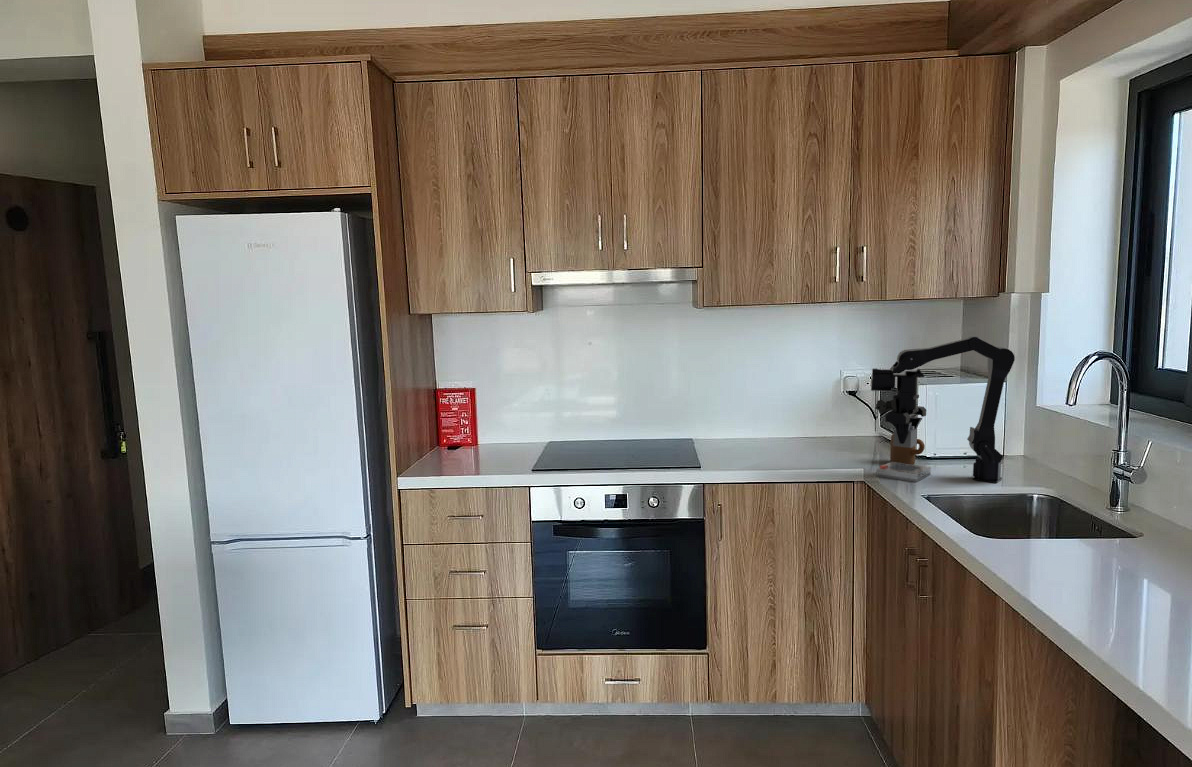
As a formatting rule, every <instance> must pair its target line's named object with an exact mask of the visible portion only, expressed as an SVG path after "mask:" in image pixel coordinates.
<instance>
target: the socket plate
mask: <svg viewBox="0 0 1192 767" xmlns="http://www.w3.org/2000/svg"><path fill="white" fill-rule="evenodd" d="M931 469H932V467H931V466H926V465H919V464H906V463H898V462H888V463H885V464H882V465H881V464H880V466H879V467H876V477H882V478H885V479H887V478H888V479H894V480H901V481H906V482H913V483H918V482H920V481H922V480H923V479H926V478H927V477H929V476H931V472H932V470H931Z"/></svg>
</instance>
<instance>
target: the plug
mask: <svg viewBox="0 0 1192 767" xmlns="http://www.w3.org/2000/svg"><path fill="white" fill-rule="evenodd" d="M892 434H893V446H899V447H907V448H911V447H914V446H917V445H918V444H917V439H918V428H917V429H914V426H911V427H910V429H909V432H908V434H907V437H906V439H905V442H904V444H900V442H899V439H898V435H897V431H896V428H894V429H893V433H892Z"/></svg>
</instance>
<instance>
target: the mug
mask: <svg viewBox="0 0 1192 767" xmlns="http://www.w3.org/2000/svg"><path fill="white" fill-rule="evenodd" d="M890 437H891V438H890V451H889V452H890V455H889V456H890V457H889V459H890V460H889V461H890V462H898V463H906V464H913V465H915V463H916V456H917V455H921V454H922V453H924V450H925V447H926V446H925V443H924V441H923V440H921V439H920V438H917V445H919V446H918V449H917V447H916V446H917V445H916V446H914V447H911V448H907V447H899V446H893V433H892V434H891V436H890Z"/></svg>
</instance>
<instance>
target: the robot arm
mask: <svg viewBox="0 0 1192 767" xmlns="http://www.w3.org/2000/svg"><path fill="white" fill-rule="evenodd" d="M971 351H974V352H976V353H978V354H979V355H982V356H983V357H985V358H987V375H988V379H987V384H986V387H985V392H984V395H983V396H984V397H983V401H982V405H981V409H980V410H981V411H980V414H979V420H978V422H977V424H976V426H975V427H972V426H970V427H969V435H968V437H967V438H966V439H967V441H968V445H969V447H970V448H971V450H972V451H973V452H974V453H975V454H976V456H977V457H976V458H975V462H974V463H973V467H972V468H973V470H972V480H973V481H979V482H980V481H981V482H988V483H992V484H993V483H994V484H998V482H1000V481H1001V480H1003V477H1001V476H1002V474H1001V472H1002V470H1001V469H1002V460H1003V458H1004V456H1003V455H1002V454H1001V453H1000V451H998V450H997V449H996V434H995V423H996V420H997V415H998V411H999V410H998V409H999V407H1000V400H1001V397H1002V392H1003V387H1004V384H1005V380H1006V378H1007V377H1008V375H1009V373H1011V372H1010V371H1011V370H1012V368H1013V365H1014V363H1015V360H1016V358H1015V354H1014V352H1013V351H1012V350H1010V349H1008V348H1005V347H1002V346H995V345H993V344H990V343H989V342H986V341H985V340H982V339H981V337H979V336H973V335H972V336H968V337H965V338H963V339H958V340H955V341H950V342H946V343H943V344H939V345H935V346H931V347H925V348H911V349H903V350H900V352H898V355H897V357H896V361H895V362H894V364H893V365H892V366H891V367H890V368H888V369H886V368H885V369H881V368H880V369H879V368H872V369H871V370H872V371H871V378H870V391H872V392H892V389H894V388H896V393H895V394H894V395H893V396H892V399H890V400H886V399H884V398H882V399H879V400H877V401H876V404H875V409H876V411H877V412H878V413H879V415H880V414H883V413H885V415H884V422H885V423H886V422H887V423H889V424H891V425H893V426H894V429H896V431H897V435H898V439H899V442H900V444H904V442H905V439H906V437H907V434H908V432H909V429H910V427H911V426H914V429H917V430H918V427H919V424H920V423H921V422H922V420H923V417H924V418H925V417H926V416H927V409H926V408H925V407H924V406H917V404H918V403H917V401H918V400H917V399H919V398H920V394H918V378H925V377H926V375H925V374H924V373H923V372H922V371H921V370H920V368H919V367H922V366H924V365H925V364H926V365H927V364H928V363H930V362H932V361H935V360H938V359H939V360H940V359H943V358H944V359H945V358H947V357H951V356H955V355H960V354H964V353H966V352H967V353H968V352H971ZM916 368H917V369H916ZM915 369H916V370H915ZM903 372H904V373H903ZM886 412H887V413H886ZM919 416H921V417H919Z"/></svg>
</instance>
